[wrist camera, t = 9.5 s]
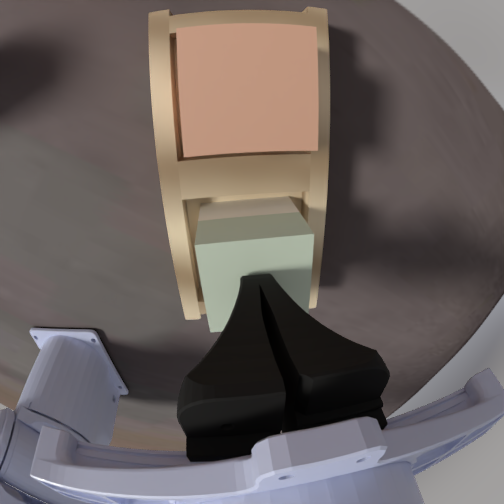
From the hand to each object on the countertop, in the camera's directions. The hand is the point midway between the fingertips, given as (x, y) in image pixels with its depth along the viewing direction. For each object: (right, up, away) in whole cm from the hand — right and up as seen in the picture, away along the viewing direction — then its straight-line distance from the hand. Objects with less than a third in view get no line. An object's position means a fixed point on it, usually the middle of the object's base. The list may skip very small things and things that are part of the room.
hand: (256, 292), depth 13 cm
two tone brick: (-1, +3, +5) cm, 5 cm away
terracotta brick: (-1, +10, 0) cm, 10 cm away
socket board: (-1, +7, +4) cm, 8 cm away
